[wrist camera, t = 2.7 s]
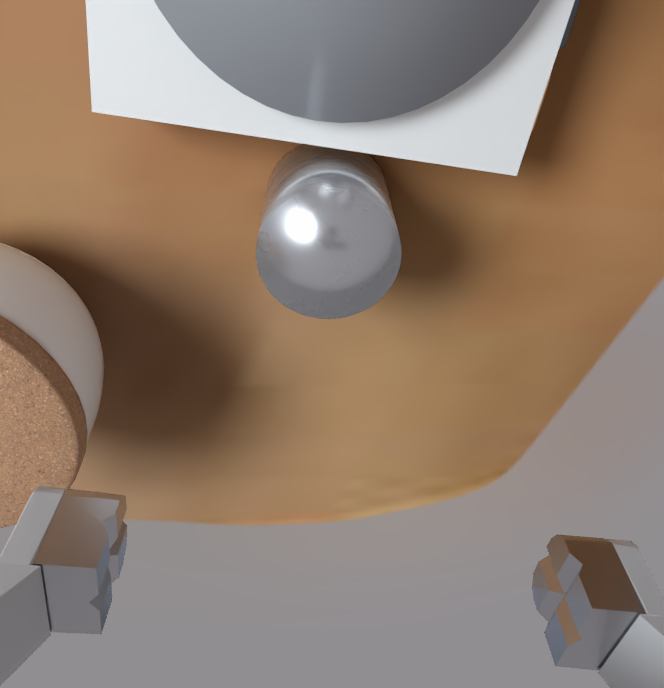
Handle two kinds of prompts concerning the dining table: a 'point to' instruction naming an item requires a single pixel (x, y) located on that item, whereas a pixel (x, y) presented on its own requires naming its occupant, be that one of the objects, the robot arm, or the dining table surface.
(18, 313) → the lidded jar
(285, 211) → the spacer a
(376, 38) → the kitchen scale
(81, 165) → the dining table surface
